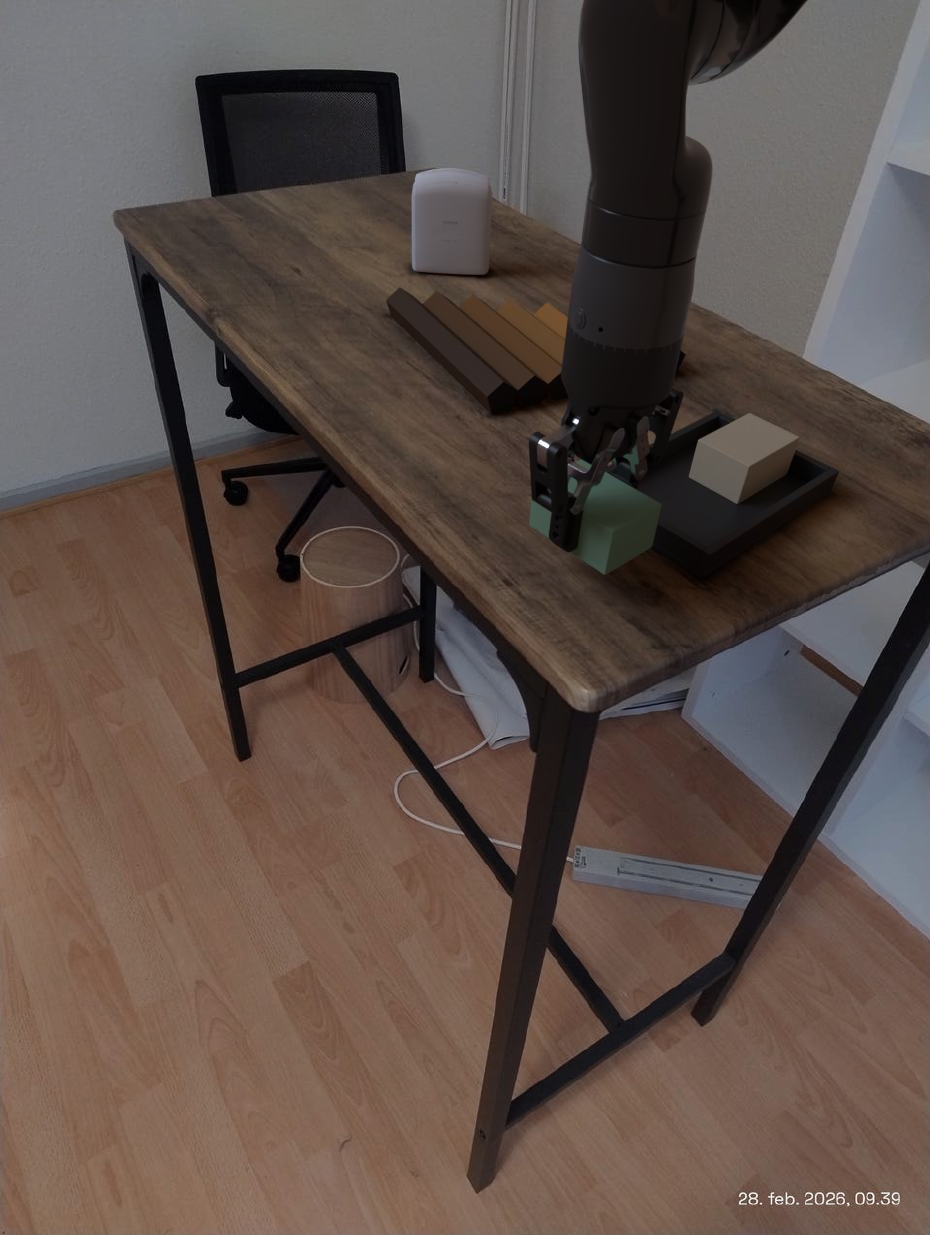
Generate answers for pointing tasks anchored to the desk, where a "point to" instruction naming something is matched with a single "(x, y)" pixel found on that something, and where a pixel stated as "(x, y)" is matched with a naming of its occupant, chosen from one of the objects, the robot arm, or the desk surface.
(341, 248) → the desk surface
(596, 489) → the sage pad
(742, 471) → the beige pad
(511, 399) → the pan flute
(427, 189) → the photo printer
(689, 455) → the tray
